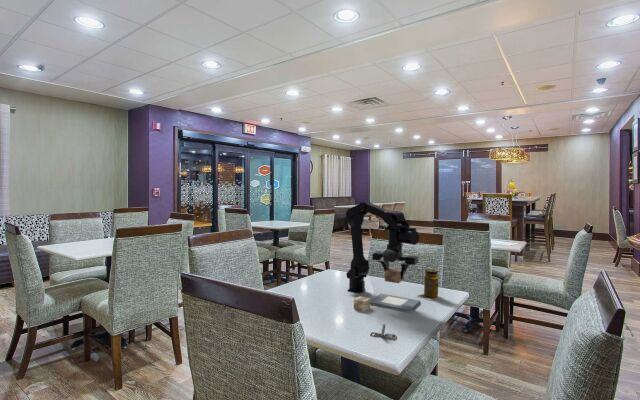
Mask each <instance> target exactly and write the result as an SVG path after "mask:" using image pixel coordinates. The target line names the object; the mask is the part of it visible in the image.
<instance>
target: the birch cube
mask: <svg viewBox="0 0 640 400" xmlns="http://www.w3.org/2000/svg"><path fill="white" fill-rule="evenodd" d="M370 300H371V298H370V297H365V296H357V297H355V298H353V309H355V310H357V311H361V312H366V311H367V310H369V309H370V308H371V305H370Z"/></svg>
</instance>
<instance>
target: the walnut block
mask: <svg viewBox="0 0 640 400" xmlns="http://www.w3.org/2000/svg"><path fill="white" fill-rule="evenodd" d="M402 281H405V276H404V277H403V279H401V268H398V267H389V269H387V270H385V271H384V282H389V283H394V284H400V283H401V282H402Z"/></svg>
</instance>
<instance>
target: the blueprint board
mask: <svg viewBox="0 0 640 400" xmlns="http://www.w3.org/2000/svg"><path fill="white" fill-rule="evenodd" d="M419 304H421V300H420V299H414V298H409V297H408V298H407V297H401V296H397V295H391V294H387V293H386V294H385V293H379V294H378V295H376V296H374V297H373V298H372V299H370V306H376V307H382V308H387V309H392V310H396V311H399V312H400V311H401V312H406V313H411V312H412V311H413V310H414V309H416V308H417V306H418V305H419Z"/></svg>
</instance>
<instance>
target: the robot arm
mask: <svg viewBox="0 0 640 400" xmlns="http://www.w3.org/2000/svg"><path fill="white" fill-rule="evenodd" d="M368 213H369V214H371V215H373V216H376V217H377V218H380V219H382V221H383V222H384V223H385V224H386V227H384V231H388V235H387V236H388V243H387V244H386V249H385V250H384V251H376V252H373V254H371V255H372V256H371V260H372V261H377V262H378V263H380V264H381V266H382V268H383V270H384V272H385V270H387V269H389V268H390V263H394V262H395V261H397V262H399V261H400V262H402V263H401V264H400V267H401V268H400V269H401V279H403V277H404V278H405V274H406V272H407V270H408V268H409V266H415V265H417V264H418V263H419V257H418V256H416V255H407V256H403V255H404V254H403V253H404V252H403V246H404V244H406V245H407V244H408V245H413V246H415V245H417V244H418V243H419V241H420V234H419V232H418V231H417V228H416V227H411V226H410V225H409V223H408V220H407V219H406V218H405V214H404V213H403V212H400V211H395V210H389V209H386V208H384V207H381V206H379V205H376V204H374V203H372V202H370V201H362V202H360V203H359V204H357V205H354V206H353V207H351V208H348V209H347V210H346V212H345V217H346V222H347V224H348V225H349V227H350V232H351V243H352V244H351V247H352V259H351V261H350V269H349V270H348V271H347V272H346V273H345V275H346V278H347V279H349V280H348V281H349V285H348V287H349V288H348V289H347V292H353V293H359V294H360V293H362V292H364V291H366V288H365V287H366V281H365V278H367V277H368V273H369V269H370V261H369V259H366V258H365V255H364V244H363V232H362V225H363V223H364V221H365V220H364V218H365V216H366V215H367V214H368Z"/></svg>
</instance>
